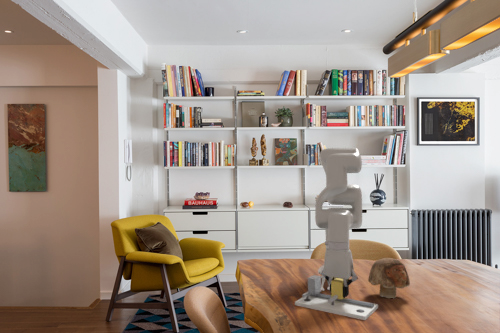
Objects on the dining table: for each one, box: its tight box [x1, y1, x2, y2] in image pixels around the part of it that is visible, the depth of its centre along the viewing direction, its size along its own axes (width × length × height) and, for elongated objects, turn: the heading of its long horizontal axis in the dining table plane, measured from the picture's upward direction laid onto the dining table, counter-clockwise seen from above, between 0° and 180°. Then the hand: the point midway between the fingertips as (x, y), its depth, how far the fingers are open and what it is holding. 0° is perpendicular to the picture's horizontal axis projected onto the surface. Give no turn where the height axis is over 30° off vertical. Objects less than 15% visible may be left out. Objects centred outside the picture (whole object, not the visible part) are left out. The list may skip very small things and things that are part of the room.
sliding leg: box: [328, 278, 344, 305], centre depth 140 cm, size 12×4×7 cm, turn 145°
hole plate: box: [294, 296, 379, 321], centre depth 140 cm, size 14×26×1 cm, turn 55°
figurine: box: [317, 264, 330, 292], centre depth 160 cm, size 7×4×12 cm, turn 108°
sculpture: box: [367, 257, 411, 299], centre depth 150 cm, size 15×16×15 cm
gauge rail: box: [301, 274, 375, 308], centre depth 140 cm, size 12×25×7 cm, turn 55°
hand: (339, 295), depth 143 cm, fingers closed on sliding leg, 4 cm apart
